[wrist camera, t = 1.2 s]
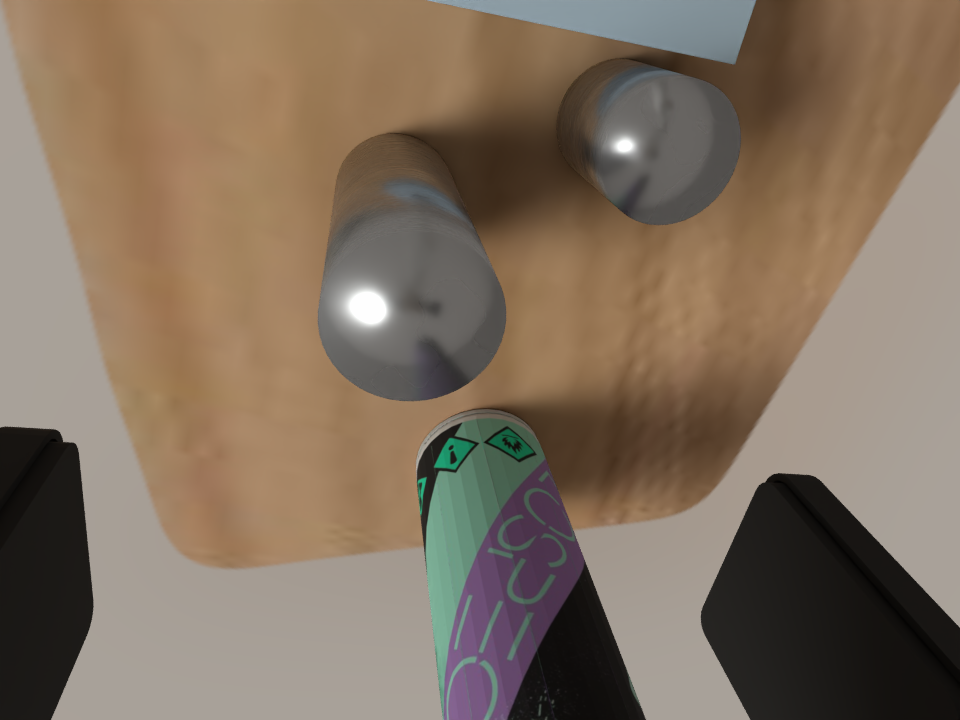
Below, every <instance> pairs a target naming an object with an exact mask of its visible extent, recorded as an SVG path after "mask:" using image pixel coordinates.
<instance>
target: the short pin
mask: <svg viewBox="0 0 960 720" xmlns="http://www.w3.org/2000/svg"><path fill="white" fill-rule="evenodd" d="M557 138H558V143H559V146H560V149H561V152H562V154H563V156H564V158H565V159H566V161H567V162H568V163H569V165H570V166H571V167H572V168H573V169H574V170H575V171H576V172H578V173H579V174H580V175H581V176H582V177H583V178H584V179H586V180H587V181H588V182H589V183H590V184H591V185H592V186H593V187H595V188H596V189H597V190H598V191H599V192H600V193H601V194H602V195H604V196H605V197H606V198H607V199H608V200H609V201H610V202H612V203H613V204H614V205H615V206H616V207H617V208H618V209H619V210H621V211H622V212H623V213H624V214H626V215H627V216H629V217H630V218H632V219H634V220H636V221H639V222H642V223H646V224H651V225H667V224H673V223H677V222H680V221H683V220H686V219H688V218H690V217H692V216H694V215H696V214H697V213H699V212H701V211H702V210H703V209H705V208H706V207H707V206H709V205H710V204H711V203H712V202H713V201H714V200H715V199H716V198H717V197H718V196H719V194H720V193H721V192H722V191H723V189H724V188H725V186H726V185H727V183H728V182H729V180H730V178H731V176H732V174H733V172H734V169H735V167H736V164H737V160H738V157H739V152H740V144H741V133H740V125H739V120H738V117H737V114H736V111H735V109H734V107H733V105H732V103H731V102H730V101H729V99H728V98H727V97H726V95H725V94H724V93H723V92H722V91H721V90H720V89H718V88H717V87H715V86H714V85H712V84H710V83H708V82H706V81H704V80H700V79H697V78H693V77H690V76H686V75H683V74H679V73H676V72H672V71H669V70H665V69H662V68H658V67H655V66H651V65H648V64H644V63H641V62H637V61H634V60H630V59H611V60H606V61H603V62H600V63H598V64H596V65H594V66H592V67H590V68H589V69H587V70H586V71H585V72H583V73H582V74H581V75H580V76H579V77H578V78H577V79H576V80H575V81H574V82H573V83H572V85H571V86H570V87H569V89H568V90H567V92H566V94H565V96H564V98H563V100H562V102H561V105H560V108H559V112H558V117H557Z"/></svg>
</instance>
